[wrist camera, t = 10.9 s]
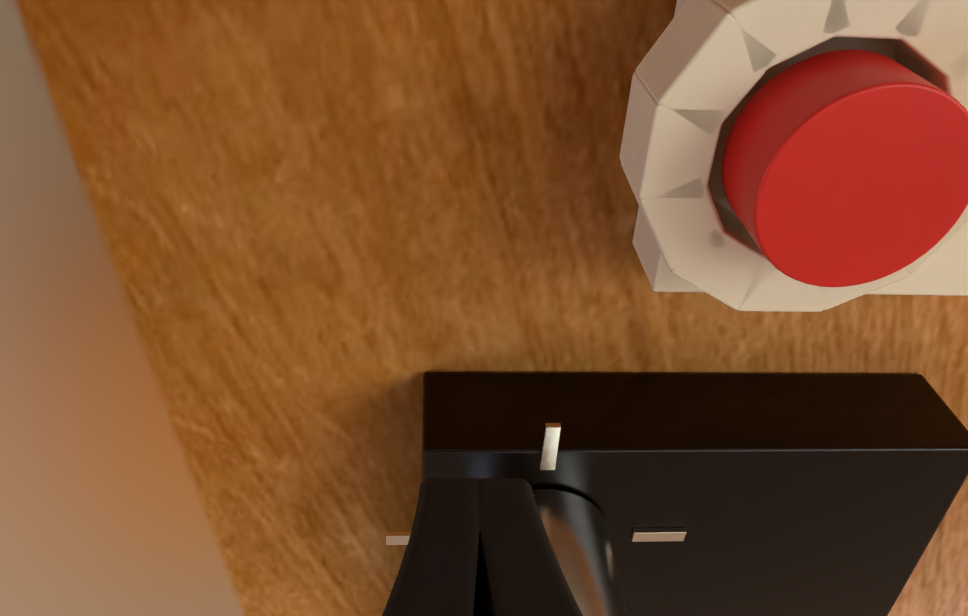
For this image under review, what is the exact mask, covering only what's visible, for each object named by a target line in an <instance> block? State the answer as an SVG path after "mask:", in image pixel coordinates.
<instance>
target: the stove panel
mask: <svg viewBox="0 0 968 616" xmlns="http://www.w3.org/2000/svg"><path fill="white" fill-rule="evenodd" d="M967 476H968V430H967V429H966V428H965V427H964V425H963V424H962V423H961V422H960V421H959V419H958V418H957V417H956V416H955V415H954V413H953V412H952V411H951V410H950V408H949V407H948V406H947V405H946V404H945V402H944V401H943V400H942V399H941V397H940V396H939V395H938V394H937V393H936V391H935V390H934V389H933V388H932V387H931V385H930V384H929V383H928V382H927V380H926V379H925V378H924V377H923V376H922V375H920V374H742V373H495V372H426V373H424V375H423V423H422V482H424V481H425V480H427V479H428V478H500V479H524V480H526V481H527V482H528V483H529V484H530V485H531V487H532V490H534V489H556V490H563V491H567V492H571V493H574V494H577V495H579V496H581V497H583V498H585V499H587V500H588V501H590V502H591V503H592V504H593V505H595V506H596V507H597V508H598V510H599V511H600V512H601V514H602V515H603V517H604V519H605V522H606V525H607V529H608V534H609V538H610V542H611V546H612V550H613V554H614V559H615V563H616V567H617V571H618V575H619V580H620V584H621V588H622V592H623V596H624V601H625V605H626V609H627V613H628V616H887V615H888V613H889V612H890V610H891V608H892V606H893V605H894V603H895V601H896V599H897V598H898V596H899V594H900V592H901V591H902V589H903V587H904V585H905V584H906V582H907V580H908V579H909V577H910V575H911V573H912V572H913V570H914V568H915V566H916V565H917V563H918V561H919V559H920V558H921V556H922V554H923V552H924V551H925V549H926V547H927V545H928V544H929V542H930V540H931V538H932V537H933V535H934V533H935V531H936V530H937V528H938V526H939V524H940V523H941V521H942V519H943V517H944V516H945V514H946V512H947V510H948V509H949V507H950V505H951V504H952V502H953V500H954V498H955V497H956V495H957V493H958V491H959V490H960V488H961V486H962V484H963V483H964V481H965V479H966V477H967ZM410 534H411V531H390V532H386V545H408V541H409V538H410Z"/></svg>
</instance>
